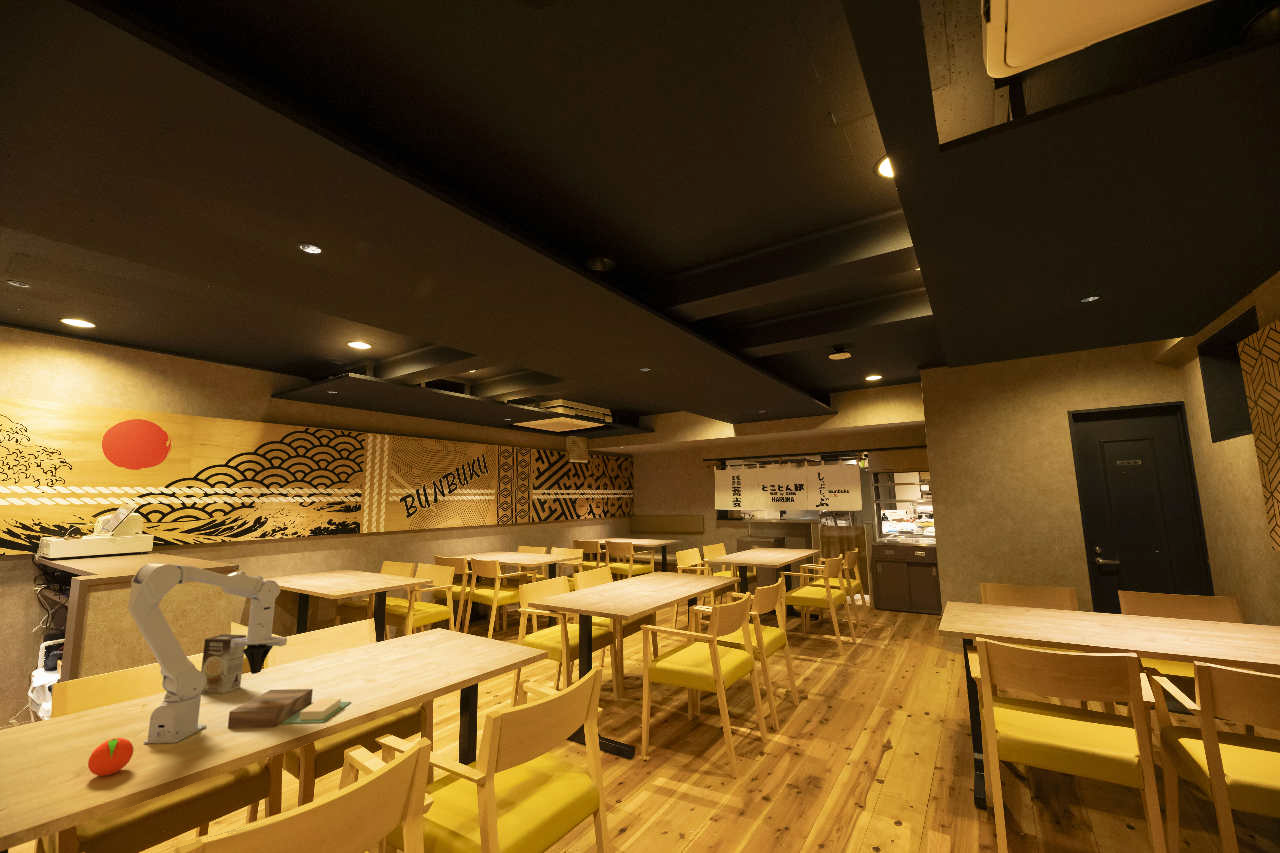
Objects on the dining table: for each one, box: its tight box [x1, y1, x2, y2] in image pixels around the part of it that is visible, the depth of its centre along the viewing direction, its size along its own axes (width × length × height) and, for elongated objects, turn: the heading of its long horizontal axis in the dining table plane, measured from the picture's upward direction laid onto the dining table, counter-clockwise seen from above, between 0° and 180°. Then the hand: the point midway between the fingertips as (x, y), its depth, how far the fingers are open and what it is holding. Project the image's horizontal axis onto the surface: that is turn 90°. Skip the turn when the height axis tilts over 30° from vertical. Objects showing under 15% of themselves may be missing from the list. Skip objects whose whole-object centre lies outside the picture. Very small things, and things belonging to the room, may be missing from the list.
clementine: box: [87, 737, 134, 777], centre depth 112 cm, size 8×7×7 cm
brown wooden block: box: [227, 688, 314, 729], centre depth 142 cm, size 16×12×4 cm
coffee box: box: [200, 633, 247, 695], centre depth 163 cm, size 9×6×16 cm
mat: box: [280, 701, 352, 725], centre depth 144 cm, size 14×11×1 cm
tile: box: [299, 698, 342, 720], centre depth 143 cm, size 9×6×2 cm, turn 2°
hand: (255, 672), depth 146 cm, fingers closed
